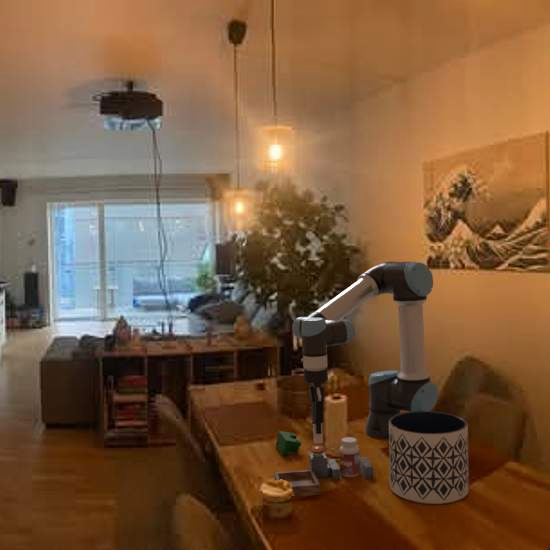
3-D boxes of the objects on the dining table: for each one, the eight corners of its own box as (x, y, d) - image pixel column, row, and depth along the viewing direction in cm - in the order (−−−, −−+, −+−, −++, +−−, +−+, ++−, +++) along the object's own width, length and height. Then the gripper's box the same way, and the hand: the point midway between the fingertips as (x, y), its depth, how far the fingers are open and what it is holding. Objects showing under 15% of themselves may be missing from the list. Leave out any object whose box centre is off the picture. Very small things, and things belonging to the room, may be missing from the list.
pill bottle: (336, 475, 201) (335, 440, 200) (347, 469, 205) (346, 435, 205) (352, 479, 197) (351, 444, 196) (363, 473, 201) (362, 438, 201)
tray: (313, 479, 198) (312, 469, 198) (319, 494, 186) (319, 484, 186) (274, 481, 197) (274, 472, 196) (278, 497, 185) (278, 487, 185)
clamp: (295, 466, 221) (303, 446, 218) (279, 464, 220) (286, 443, 216) (290, 443, 232) (297, 423, 228) (274, 440, 231) (282, 421, 227)
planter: (456, 512, 172) (454, 438, 170) (378, 496, 183) (376, 427, 182) (477, 483, 190) (476, 416, 189) (405, 470, 202) (404, 407, 201)
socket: (366, 467, 206) (366, 447, 206) (373, 478, 197) (372, 457, 197) (308, 471, 204) (307, 451, 204) (312, 482, 195) (312, 461, 195)
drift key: (323, 467, 202) (322, 445, 202) (325, 472, 198) (325, 449, 198) (311, 468, 202) (310, 445, 201) (313, 473, 198) (312, 450, 197)
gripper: (300, 364, 204) (303, 436, 206) (306, 373, 191) (309, 450, 193) (323, 363, 205) (326, 435, 206) (331, 372, 192) (334, 448, 193)
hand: (318, 442), depth 200 cm, fingers closed
